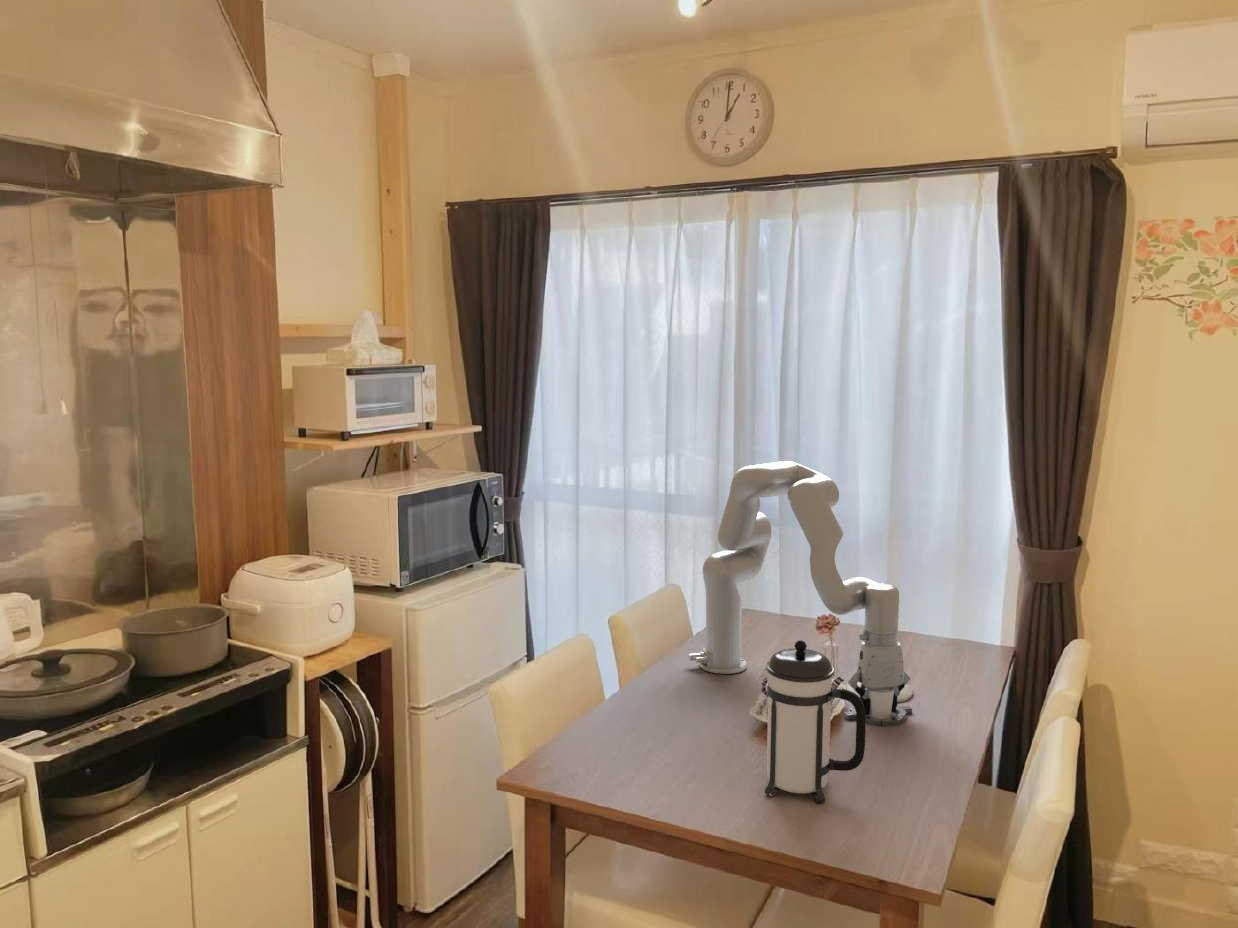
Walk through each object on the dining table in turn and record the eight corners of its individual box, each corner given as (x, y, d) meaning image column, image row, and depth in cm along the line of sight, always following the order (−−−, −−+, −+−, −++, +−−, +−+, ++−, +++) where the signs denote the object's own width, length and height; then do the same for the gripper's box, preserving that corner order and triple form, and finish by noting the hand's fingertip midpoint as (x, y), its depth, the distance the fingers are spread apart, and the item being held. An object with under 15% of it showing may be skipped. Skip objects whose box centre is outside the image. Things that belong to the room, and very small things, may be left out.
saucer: (865, 705, 225) (865, 702, 224) (835, 682, 240) (835, 679, 240) (925, 699, 228) (925, 696, 228) (891, 676, 244) (891, 673, 244)
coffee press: (789, 815, 173) (793, 659, 169) (744, 778, 187) (747, 634, 183) (865, 797, 180) (870, 646, 176) (816, 763, 194) (820, 623, 190)
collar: (858, 728, 211) (858, 723, 211) (833, 708, 223) (834, 704, 223) (923, 721, 215) (924, 716, 215) (896, 702, 227) (896, 697, 226)
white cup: (898, 714, 219) (899, 686, 218) (884, 723, 214) (885, 694, 213) (871, 707, 224) (872, 679, 223) (857, 715, 219) (858, 687, 218)
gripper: (854, 645, 211) (852, 721, 213) (923, 639, 215) (919, 714, 217) (839, 635, 218) (837, 709, 220) (905, 629, 222) (902, 702, 224)
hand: (878, 710), depth 219 cm, fingers closed on white cup, 6 cm apart
